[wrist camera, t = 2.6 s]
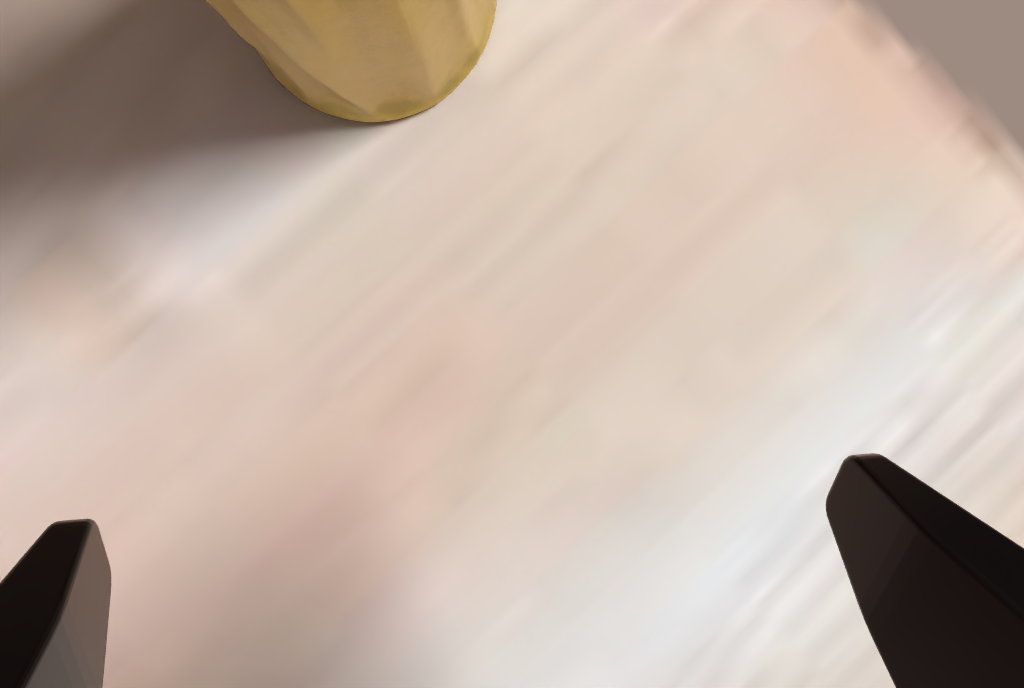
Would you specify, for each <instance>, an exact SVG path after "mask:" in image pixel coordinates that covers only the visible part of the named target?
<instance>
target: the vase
mask: <svg viewBox="0 0 1024 688" xmlns="http://www.w3.org/2000/svg"><path fill="white" fill-rule="evenodd" d="M205 1H207V2H208V3H209V4H210V5H211V6H212V7H213V8H214V9H215V10H216V11H217V12H218V13H219V14H220V15H221V16H222V17H223V18H224V19H225V21H226V22H227V23H228V24H229V25H230V26H231V27H232V28H233V29H234V30H235V31H236V32H237V33H238V34H239V35H240V36H241V37H242V38H243V39H244V40H245V41H246V42H247V43H249V44H250V45H251V46H253V47H254V48H255V49H256V50H257V51H258V53H259V55H260V56H261V58H262V59H263V61H264V63H265V64H266V66H267V67H268V68H269V70H270V71H271V72H272V74H273V75H274V76H275V78H276V79H277V80H278V81H279V82H280V83H281V84H282V85H283V86H284V87H286V88H287V89H288V90H289V91H290V92H291V93H292V94H294V95H295V96H296V97H298V98H299V99H300V100H302V101H303V102H305V103H307V104H308V105H309V106H311V107H313V108H316V109H318V110H320V111H322V112H325V113H327V114H330V115H333V116H336V117H340V118H344V119H348V120H354V121H361V122H382V121H390V120H397V119H401V118H404V117H408V116H411V115H413V114H416V113H419V112H421V111H424V110H426V109H428V108H430V107H433V106H435V105H436V104H437V103H439V102H440V101H442V100H443V99H445V98H446V97H447V96H448V95H449V94H450V93H451V92H452V91H453V90H454V89H455V88H456V87H457V86H458V85H459V84H460V83H461V82H462V81H463V80H464V79H465V78H466V76H467V75H468V74H469V73H470V71H471V70H472V69H473V68H474V66H475V65H476V64H477V62H478V60H479V58H480V57H481V55H482V53H483V51H484V49H485V46H486V44H487V41H488V39H489V36H490V33H491V29H492V25H493V22H494V16H495V10H496V0H205Z"/></svg>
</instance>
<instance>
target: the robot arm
mask: <svg viewBox="0 0 1024 688" xmlns="http://www.w3.org/2000/svg"><path fill="white" fill-rule="evenodd" d="M826 512H827V517H828V520H829V523H830V526H831V529H832V531H833V534H834V537H835V540H836V543H837V545H838V548H839V551H840V554H841V557H842V560H843V562H844V565H845V568H846V571H847V574H848V576H849V579H850V582H851V585H852V588H853V591H854V593H855V596H856V599H857V602H858V605H859V607H860V610H861V612H862V615H863V617H864V620H865V622H866V625H867V627H868V629H869V631H870V634H871V636H872V638H873V640H874V642H875V645H876V647H877V649H878V651H879V653H880V655H881V657H882V659H883V661H884V663H885V666H886V668H887V670H888V672H889V674H890V676H891V678H892V680H893V682H894V685H895V687H896V688H1024V548H1022V547H1021V546H1019V545H1018V544H1016V543H1015V542H1013V541H1012V540H1010V539H1009V538H1007V537H1006V536H1004V535H1003V534H1001V533H1000V532H998V531H997V530H995V529H994V528H992V527H991V526H989V525H988V524H986V523H985V522H983V521H981V520H980V519H978V518H977V517H975V516H974V515H972V514H971V513H969V512H968V511H966V510H965V509H963V508H962V507H960V506H959V505H957V504H956V503H954V502H953V501H951V500H950V499H948V498H947V497H945V496H943V495H942V494H940V493H939V492H937V491H936V490H934V489H933V488H931V487H930V486H928V485H927V484H925V483H924V482H922V481H921V480H919V479H918V478H916V477H915V476H913V475H912V474H910V473H909V472H907V471H905V470H904V469H902V468H901V467H899V466H898V465H896V464H895V463H893V462H892V461H890V460H889V459H887V458H886V457H884V456H882V455H880V454H874V453H872V454H859V455H851V456H848V457H847V458H846V459H845V460H844V461H843V463H842V465H841V467H840V469H839V471H838V474H837V476H836V478H835V480H834V482H833V485H832V487H831V489H830V491H829V493H828V496H827V499H826ZM110 595H111V570H110V565H109V561H108V558H107V554H106V551H105V548H104V544H103V541H102V538H101V534H100V531H99V528H98V525H97V524H96V523H95V521H94V520H92V519H78V520H66V521H58V522H55V523H53V524H51V525H50V526H49V527H48V528H47V529H46V530H45V531H44V532H43V533H42V535H41V536H40V537H39V538H38V539H37V540H36V542H35V543H34V544H33V545H32V546H31V547H30V549H29V550H28V551H27V552H26V553H25V554H24V556H23V557H22V558H21V559H20V560H19V561H18V563H17V564H16V565H15V566H14V567H13V569H12V570H11V571H10V572H9V573H8V574H7V576H6V577H5V578H4V579H3V580H2V581H1V583H0V688H102V686H103V675H104V663H105V652H106V640H107V629H108V618H109V606H110Z"/></svg>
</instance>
